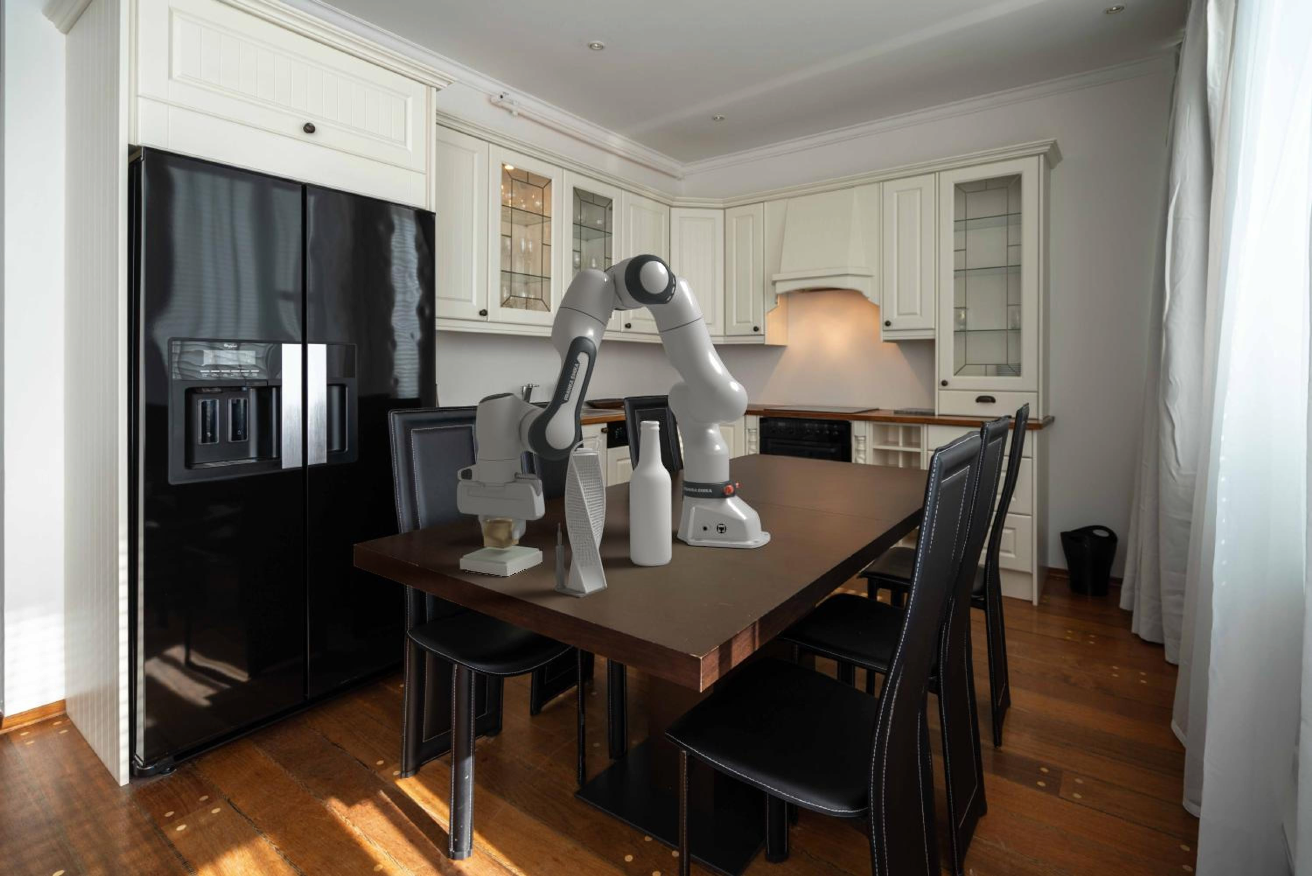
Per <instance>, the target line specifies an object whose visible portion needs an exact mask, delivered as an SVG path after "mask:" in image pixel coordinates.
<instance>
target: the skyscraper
mask: <svg viewBox="0 0 1312 876" xmlns="http://www.w3.org/2000/svg"><path fill="white" fill-rule="evenodd" d="M589 442H598V446H597V448H596V450H593V448H592V447H591V448H590V447H579V448H578V446H580V445H582V444H585V443H589ZM602 443H603V440H602V439H600V438H587V439H583V440H581V441H580V440H579V442H578V443H577V444H576V445H575V446H574V447H573V448H572V450H571V452H570V455H569V456H568V457H569V458H568V465H567V471H566V478H565V479H566V480H565V490H564V511H565V521H566V528H567V534H568V539H569V543H570V547H571V548H570V549H571V552H572V555H571V563H570V569H569V573H568V579H567V583H566V582H565V579H566V569H565V564H564V563H565V562H564V561H565V560H564V558H565V556H564V553H565V546H564V545H562V541H563V540H562V539H563V538H562V534H563V533H562V531H561V523H560V522H559V523H558V526H557V527H558V532H557V545H556V546H555V555H556V556H555V557H556V566H555V567H556V568H555V580H556V585H555V587H554V588H553V591H554V590H555V592H558V593H563V594H566V595H569V596H572V597H575V598H579V599H581V598H584V597H586V596H590V595H592V594H595V593H598V592H601V591H603V590H606V589H607V588H608V586H607V581H606V576H605V572H604V568H603V564H602V559H601V555H600V550H599V549H600V545H601V541H602V537H603V530H604V526H605V518H606V508H607V507H606V506H607V504H606V503H607V501H606V497H607V495H606V494H607V493H606V485H605V479H604V478H605V477H604V472H603V467H602V462H601V461H602V460H601V457H600V449H601V446H602Z"/></svg>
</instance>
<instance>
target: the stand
mask: <svg viewBox="0 0 1312 876" xmlns="http://www.w3.org/2000/svg"><path fill="white" fill-rule="evenodd" d="M541 562H542V563H543V551H542V550H539V548H535V547H528V546H527V547H526V546H519V545H513V546H510V547H507V548H505V549H500V548H492V547H484V548H481V549H478V550H475V551H472V552H470V553H468V554H464V555H463V556H462V558H459V570H460V569H467V570H471V571H477V572H482V573H490V574H495V575H500V576H499V577H502V576H509V577H511V576H510V575H512V574H514V573H516V574H518V572H519V573H521V572H523V571H525V570H524V569H526V570H528V569H530V568H532V567H534V566H537V565H539V564H542V563H541ZM522 570H523V571H522ZM520 571H521V572H520ZM495 575H494V576H495ZM514 575H515V574H514ZM512 576H513V575H512Z"/></svg>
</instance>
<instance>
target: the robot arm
mask: <svg viewBox="0 0 1312 876" xmlns="http://www.w3.org/2000/svg"><path fill="white" fill-rule="evenodd" d="M644 307H645V308H646V309H648V311H649V312H650V313H651V315H652V317H653V319H654V321H655V325H656V328H657V331H658V334H659V338H660V340H661V343H662V346H663V349H664V352H665V354H666V358H667V361H668V362H669V364H670V365H671V366H672V367H673V368H674V369H675V370H676V372H677V373H678V374H679V375H680V377H681V378H682V380H680V381H678V382H676V383H675V384H674V385H672V387H671V388H670V390H669V392H668V396H667V401H668V403H667V404H668V407H669V409H670V411H671V412H672V413H673V415H674V417H675V419H676V423H677V426H678V430H679V434H680V440H681V445H682V452H683V453H682V455H683V479H682V480H681V501H682V511H681V518H680V523H679V528H678V531H677V532H678V533H677V535H676V536H677V538H678V539H679V540H681V541H683V542H685V543H687V544H688V545H689V546H699V547H704V546H705V547H717V548H718V547H719V548H733V549H734V548H738V549H755V548H759V547H763V546H764V545H767V544H768V543H769V542H770V541H771V534H770V533H769V532H767V531H762V526H761V520H760V517H759V514H758V511H756V510H755V509H754V508H752V507H751V506H750V505H749V504H747V503H746V502H745V501H744V500H742V498H740V497H739V496H738V495H737V492H738V490H737V489H738V488H739V482H737V483H735V482H733V481H732V480H731V479H730V449H729V446H728V444H727V442H726V441H725V439H724V438H723V436H722V433H721V429H720V425H725V424H729V423H733V422H737V421H739V420H740V419H741V418H743V416H744V415H745V413H746V411H747V407H748V403H749V397H748V393H747V390H746V389H745V387H744V386H743V385H742V384H741V383H740V382H738V381H737V380H736V378H734V377H733V375H731V374H730V372H729V371H728V369H727V367H726V366H725V364H724V363H723V361H722V359H721V357H720V356H719V354H718V352H717V351H716V348H715V346H714V345H713V342H712V339H711V335H710V332H709V330H708V326H707V323H706V321H705V317H704V314H703V312H702V309H701V307H700V304H699V301H698V299H697V297H696V295H695V293H694V291H693V289H692V286H690V283H689V282H688V281H687V280H686V279H685V278H684V277H682V276H678V275H675V274H674V273H673V272H672V270H671V269H670V267H669V265H668V264H667V262H665V260H663V258H661V257H660V256H657V255H654V254H649V253H648V254H646V253H645V254H638V255H635V256H632V257H628V258H625V259H623V260H621V261H619V262H618V263H616V264H613V265H611V266H609V267H607V268H606V269H605V270H604V271H602V270H600V269H596V268H585V269H582V270H581V271H579V272H577V274H576V275H575V276H574V278H573V280H572V281H571V283H570V284H569V286H568V288H567V289H566V292H565V293H564V295H563V298H562V299H561V301H560V303H559V307H558V309H557V311H556V314H555V317H554V319H553V324H552V328H551V335H550V339H551V342H552V345H553V347H554V348H555V350H556V351H557V353H558V355H559V357H560V371H559V374H558V377H557V379H556V383H555V386H554V389H553V393H552V395H551V398H550V401H549V403H548V404H547V406H545V408H542V407H541V406H537V405H534V404H531V403H529V402H527V401H525V400H523V399H521V398H520V397H518V396H517V395H516V394H515V393H513V392H502V393H495V394H491V395H486V396H485V397H483V398H482V399H481V400H480V401H479V402H478V405H477V408H476V414H475V415H476V416H475V417H476V419H475V437H476V438H475V439H476V441H477V445H478V451H477V455H476V463H475V464H472V465H470V466H468V467H467V466H466V467H464V468H461V469H459V470H458V471H457V479H458V480H460V481H459V482H458V483H457V488H456V489H457V490H456V505H457V509H458V511H459V512H460V513H461V514H465V515H477V516H478V517H477V518H478V521H479V523H480V526H481V525H482V527H483V523H484V522H488V521H489V520H488V519H489V518H490V516H495V517H505V518H512V523H514V526H513V528H512V530H510V531H508V534H509V536H508V538H509V539H518V538H519V530H520V528H521V526H522V524H523V522H524V519H525V520H526V521H537V520H539V519H542V518H543V516H544V515H545V513H546V512H545V511H546V510H545V500H544V494H543V482H542V480H541V479H540V478H539V477H538V476H537V475H536V474H534V473H524V472H523V473H522V465H521V463H522V462H521V454H522V453H523V452H530V453H532V454H535V455H537V456H539V457H541V458H543V459H544V460H548V461H554V462H555V461H560V460H563V459H566V458H567V457H570V452H571V450H572V448H573V447H574V446H575V445H576V444H577V443H578V442H580V436H581V422H580V421H581V414H582V413H581V412H582V408H583V406H584V401H585V398H586V395H587V391H588V387H589V385H590V382H591V379H592V375H593V371H594V368H595V364H596V358H597V355H598V351H599V349H600V346H601V342H602V340H603V337H604V334H605V331H606V330H607V327H608V324H609V322H610V318H611V316H612V314H613V312H614V311H621V312H623V311H628V310H639V309H641V308H644ZM483 529H484V527H483Z"/></svg>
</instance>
